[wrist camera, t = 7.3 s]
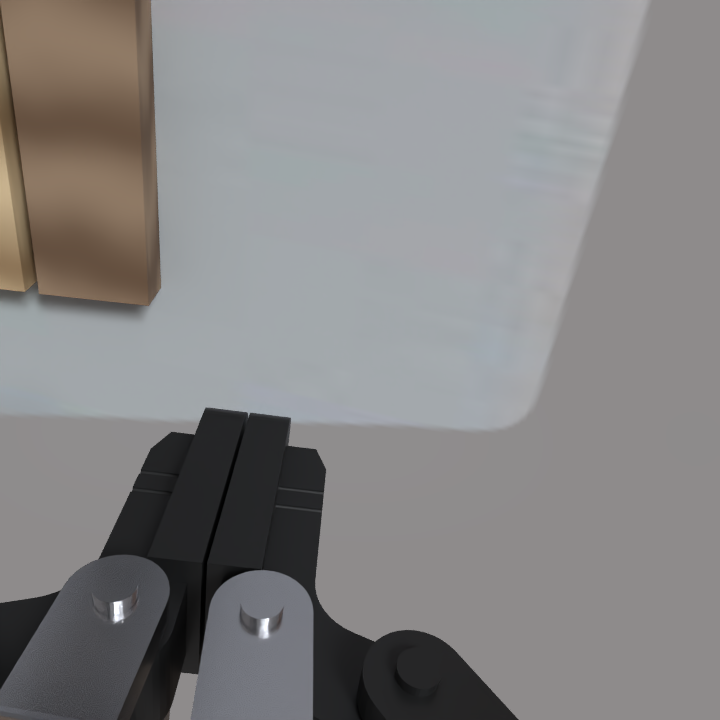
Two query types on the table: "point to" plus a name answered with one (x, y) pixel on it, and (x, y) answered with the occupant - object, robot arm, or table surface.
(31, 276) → the oak plank
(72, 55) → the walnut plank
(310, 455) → the robot arm
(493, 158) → the table surface
